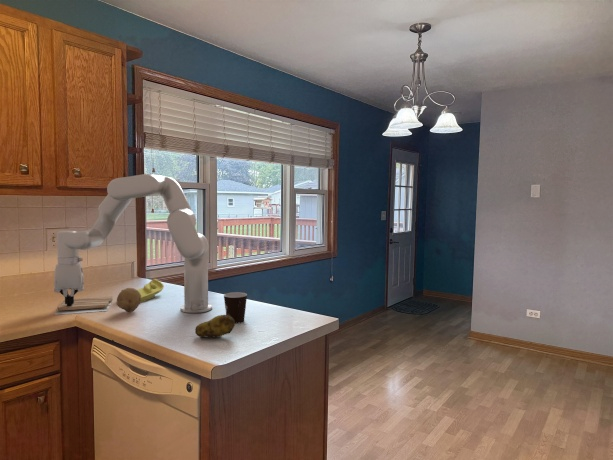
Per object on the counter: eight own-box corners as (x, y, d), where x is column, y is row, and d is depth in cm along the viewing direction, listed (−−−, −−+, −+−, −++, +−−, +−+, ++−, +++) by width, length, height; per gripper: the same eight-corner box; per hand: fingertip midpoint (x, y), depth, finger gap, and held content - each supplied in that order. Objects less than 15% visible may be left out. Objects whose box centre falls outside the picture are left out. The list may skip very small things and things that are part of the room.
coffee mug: (226, 317, 166) (226, 292, 165) (248, 318, 166) (248, 292, 165) (219, 326, 155) (219, 299, 154) (243, 327, 154) (243, 299, 154)
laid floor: (107, 311, 174) (107, 307, 174) (54, 314, 168) (53, 311, 168) (112, 299, 194) (112, 296, 194) (65, 302, 188) (64, 299, 188)
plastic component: (137, 299, 186) (120, 287, 188) (132, 313, 188) (116, 301, 191) (168, 287, 204) (152, 276, 206) (163, 300, 206) (148, 289, 209)
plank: (106, 307, 178) (106, 304, 178) (57, 310, 172) (57, 307, 172) (109, 303, 185) (108, 301, 185) (61, 306, 179) (61, 304, 179)
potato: (209, 331, 149) (208, 308, 148) (239, 337, 143) (238, 313, 142) (192, 338, 142) (191, 314, 141) (222, 345, 136) (222, 320, 135)
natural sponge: (131, 316, 167) (131, 291, 166) (111, 314, 169) (111, 289, 168) (145, 310, 176) (145, 286, 175) (126, 309, 178) (126, 285, 177)
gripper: (90, 259, 180) (91, 302, 182) (49, 260, 175) (50, 304, 177) (87, 261, 173) (88, 306, 174) (44, 263, 168) (46, 309, 170)
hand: (69, 305), depth 176 cm, fingers closed
